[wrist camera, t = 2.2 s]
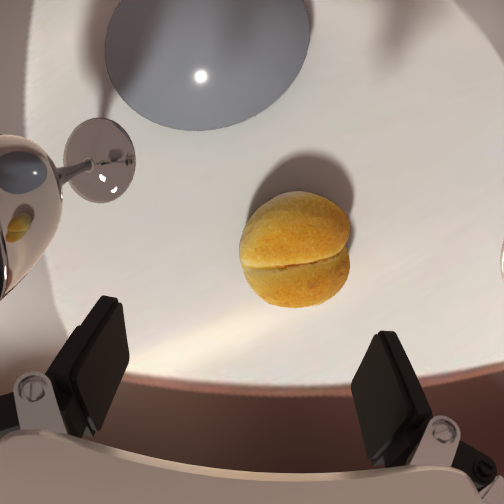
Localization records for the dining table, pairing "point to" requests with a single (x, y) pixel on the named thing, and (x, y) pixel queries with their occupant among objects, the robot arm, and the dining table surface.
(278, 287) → the bread roll
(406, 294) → the dining table surface
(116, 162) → the wine glass
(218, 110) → the plate
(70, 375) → the robot arm
